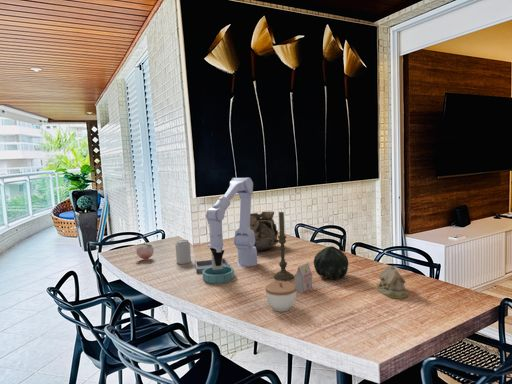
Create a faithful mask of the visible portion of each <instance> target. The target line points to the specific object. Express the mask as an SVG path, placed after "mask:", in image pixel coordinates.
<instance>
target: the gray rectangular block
mask: <svg viewBox="0 0 512 384" xmlns="http://www.w3.org/2000/svg"><path fill="white" fill-rule="evenodd" d="M210 256H211V259H210V260H211V261H212V269H213V270H216V269H223V260H222V262H221V266H216V264H215V260H214V256H213V254H212V253H211V254H210Z"/></svg>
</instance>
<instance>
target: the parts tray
mask: <svg viewBox="0 0 512 384" xmlns="http://www.w3.org/2000/svg"><path fill="white" fill-rule="evenodd" d="M222 260H223V266H229V267H231V265H230V263H229V262H228V260H227V259H226V257H224V258H223V257H222ZM194 267H195V271H196V274H202V271H203V270H204V269H206V268H209V267H212V261H211V259H205V260H195V261H194Z"/></svg>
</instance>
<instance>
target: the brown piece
mask: <svg viewBox="0 0 512 384" xmlns="http://www.w3.org/2000/svg"><path fill="white" fill-rule="evenodd" d="M274 216H275V211H272V210H271V211H269V210H268V211H261V213H258V212H253V213H252V212H251V213H250V229H251V230H252V231H253V232H254V236H255V244H254V246H255V247H256V250H257V251H264V250H269V249H271V248H273V247H275V245H277V244H278V243H279V239H278V236H279V235H278V234H279V231H278V230H277V228H278V227H277V225H276V223H275V221H274V219H273V218H274ZM242 234H243V233H242ZM246 235H248V234H246Z"/></svg>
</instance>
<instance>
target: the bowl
mask: <svg viewBox="0 0 512 384" xmlns="http://www.w3.org/2000/svg"><path fill="white" fill-rule="evenodd" d="M201 275H202V276H201V277H202V280H203V281H204V282H205V283H206V284H211V285H214V284H215V285H218V284H224V283H228V282H230V281H233V280H234V278H235V269H234V267H232V266H230V267H229V266H223V269H216V270H213V269H212V267H209V268H206V269H204V270H203V271H202V273H201Z"/></svg>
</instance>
